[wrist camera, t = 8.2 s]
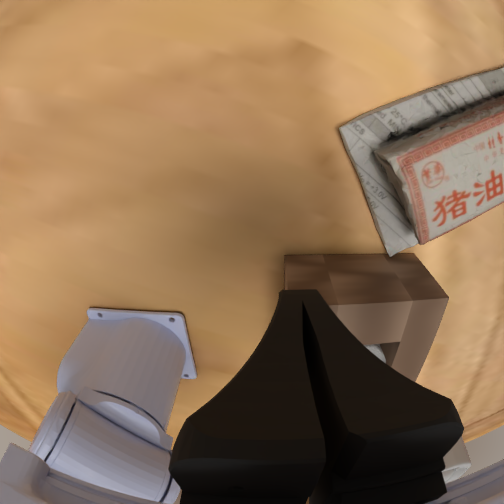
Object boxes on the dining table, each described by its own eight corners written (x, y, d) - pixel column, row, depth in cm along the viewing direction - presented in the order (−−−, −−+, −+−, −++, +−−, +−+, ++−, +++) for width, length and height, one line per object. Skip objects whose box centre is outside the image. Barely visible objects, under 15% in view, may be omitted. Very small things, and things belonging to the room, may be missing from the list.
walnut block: (278, 424, 31) (279, 467, 26) (284, 255, 22) (289, 306, 16) (362, 418, 31) (370, 459, 25) (413, 253, 21) (449, 297, 16)
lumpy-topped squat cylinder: (396, 444, 35) (407, 491, 27) (468, 420, 33) (484, 461, 25) (386, 468, 39) (394, 507, 32) (450, 447, 38) (462, 484, 30)
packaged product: (550, 61, 9) (572, 185, 13) (511, 61, 13) (537, 169, 17) (351, 131, 14) (406, 285, 17) (331, 125, 18) (382, 251, 22)
